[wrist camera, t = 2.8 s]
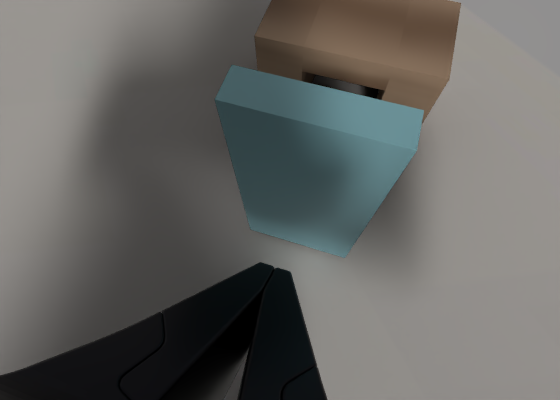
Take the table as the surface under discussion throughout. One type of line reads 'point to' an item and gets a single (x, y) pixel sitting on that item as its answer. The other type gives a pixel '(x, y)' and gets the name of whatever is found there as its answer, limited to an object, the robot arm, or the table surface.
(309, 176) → the pale blue board
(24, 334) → the table surface
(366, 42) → the socket block
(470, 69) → the table surface
